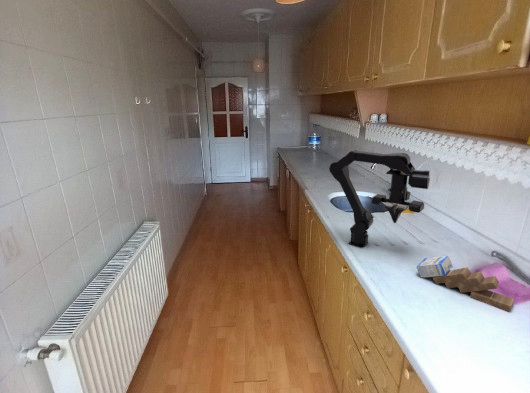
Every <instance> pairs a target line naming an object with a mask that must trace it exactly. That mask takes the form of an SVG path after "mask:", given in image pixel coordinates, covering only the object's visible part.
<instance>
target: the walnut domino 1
mask: <svg viewBox="0 0 530 393" xmlns="http://www.w3.org/2000/svg"><path fill="white" fill-rule="evenodd" d="M470 273H471V271H470V269H469V267H462V268H457V269H450V271H449V272H448V273H447V274H446V275H445V276H435V277H432V279H433V280H432V281H433V282H434V283H435V285H437V284H445V282H452V281H459V280H465V279H467V278H468V276H469V275H470Z"/></svg>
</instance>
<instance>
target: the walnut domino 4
mask: <svg viewBox="0 0 530 393" xmlns="http://www.w3.org/2000/svg"><path fill="white" fill-rule="evenodd" d="M469 296H470V299H472V300H475V301H477V302H481V303H482V304H486V305H488V306H491V307H494V308H497V309H499V310H503V311H505V312H507V313H510V312H511V310H512V307H513V305H514V302H515V299H514V298H513V297H511V296H510V297H509V296H507V295H504V294H501V293H497V292H495V291H493V290H481V291H472V292H470V295H469Z"/></svg>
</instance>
